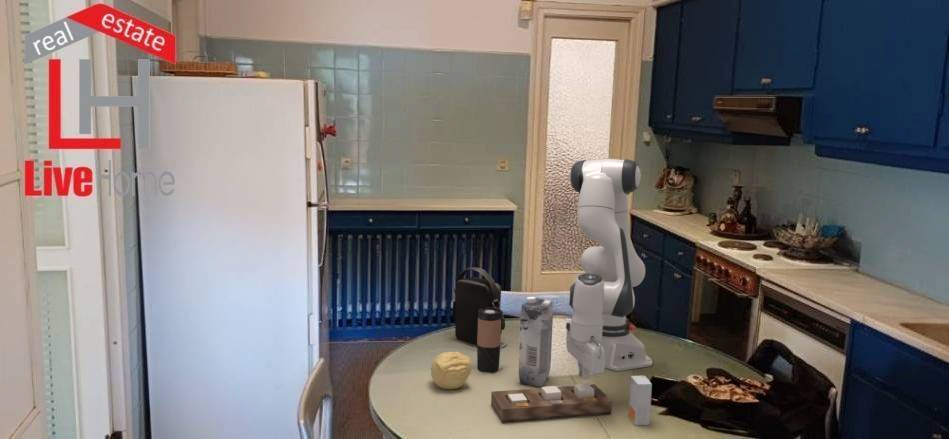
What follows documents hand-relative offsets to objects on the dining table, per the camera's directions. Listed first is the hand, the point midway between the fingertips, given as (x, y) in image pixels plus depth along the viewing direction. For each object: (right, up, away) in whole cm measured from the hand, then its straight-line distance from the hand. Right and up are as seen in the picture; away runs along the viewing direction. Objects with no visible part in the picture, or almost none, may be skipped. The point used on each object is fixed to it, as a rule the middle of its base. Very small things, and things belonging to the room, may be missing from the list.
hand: (583, 377), depth 195 cm
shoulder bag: (-31, 0, +55) cm, 63 cm away
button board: (-10, -9, -1) cm, 13 cm away
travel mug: (-27, -4, +29) cm, 39 cm away
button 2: (0, -6, +1) cm, 6 cm away
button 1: (-19, -8, -3) cm, 21 cm away
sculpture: (-39, -6, +15) cm, 42 cm away
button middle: (-9, -6, -1) cm, 11 cm away
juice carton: (-12, -6, +20) cm, 24 cm away
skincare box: (+14, -11, -6) cm, 19 cm away
